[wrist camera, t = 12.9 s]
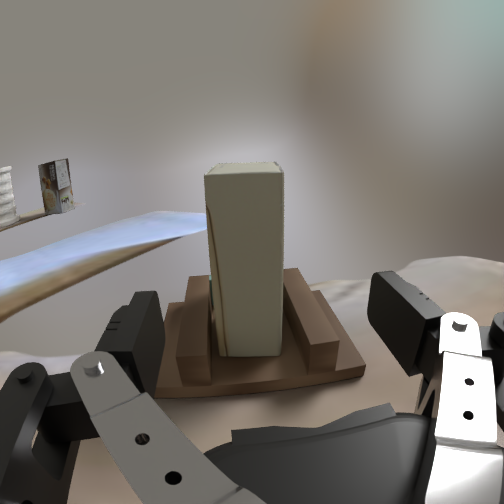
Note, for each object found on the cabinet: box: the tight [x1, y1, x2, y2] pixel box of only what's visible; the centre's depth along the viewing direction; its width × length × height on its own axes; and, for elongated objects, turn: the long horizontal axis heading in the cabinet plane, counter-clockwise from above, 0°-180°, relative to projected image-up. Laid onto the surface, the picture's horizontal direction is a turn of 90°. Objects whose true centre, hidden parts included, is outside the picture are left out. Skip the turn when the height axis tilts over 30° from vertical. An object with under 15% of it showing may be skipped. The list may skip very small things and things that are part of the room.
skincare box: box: [204, 162, 284, 357], centre depth 21 cm, size 6×4×12 cm
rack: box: [154, 268, 366, 398], centre depth 23 cm, size 14×11×4 cm
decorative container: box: [0, 166, 20, 228], centre depth 73 cm, size 12×12×18 cm
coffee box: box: [38, 159, 75, 215], centre depth 80 cm, size 9×6×16 cm
